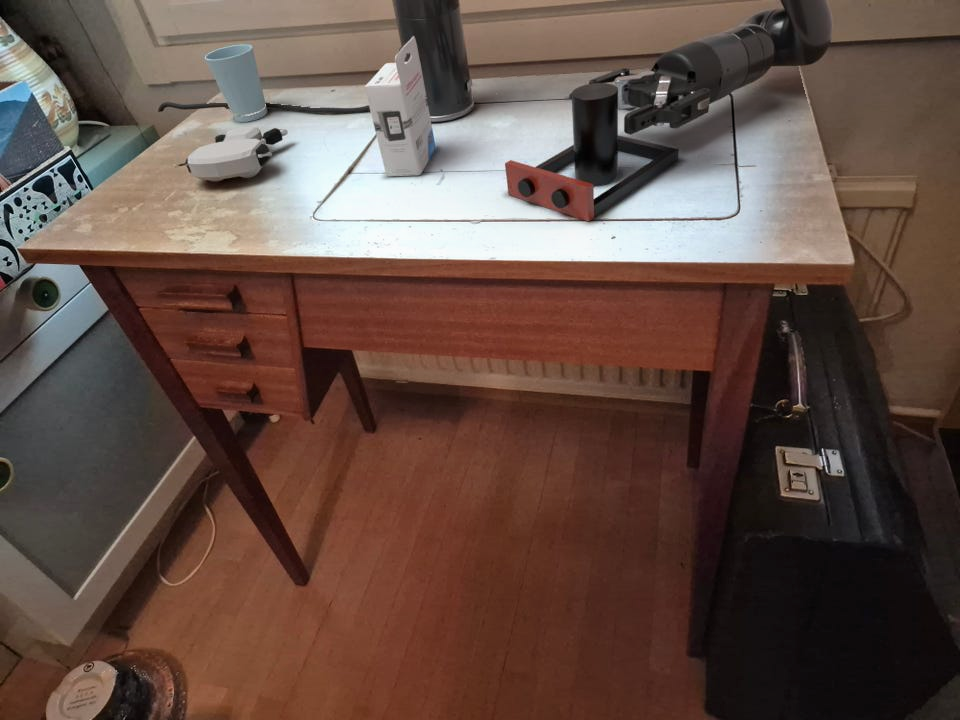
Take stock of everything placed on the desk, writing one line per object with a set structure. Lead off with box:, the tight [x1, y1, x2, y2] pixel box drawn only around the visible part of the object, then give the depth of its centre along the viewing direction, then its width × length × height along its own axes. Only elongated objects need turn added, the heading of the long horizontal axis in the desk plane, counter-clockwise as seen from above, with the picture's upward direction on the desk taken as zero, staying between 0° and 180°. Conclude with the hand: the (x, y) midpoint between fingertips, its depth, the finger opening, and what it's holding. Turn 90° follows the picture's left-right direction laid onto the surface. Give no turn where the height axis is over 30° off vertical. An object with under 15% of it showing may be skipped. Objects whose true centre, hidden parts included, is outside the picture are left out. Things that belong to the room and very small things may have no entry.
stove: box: [504, 134, 680, 223], centre depth 77 cm, size 12×18×4 cm
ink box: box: [364, 36, 437, 177], centre depth 84 cm, size 9×5×15 cm, turn 168°
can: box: [571, 83, 619, 187], centre depth 75 cm, size 5×5×10 cm
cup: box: [204, 43, 268, 123], centre depth 109 cm, size 8×8×10 cm
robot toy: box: [173, 125, 289, 182], centre depth 94 cm, size 12×4×15 cm
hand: (599, 116), depth 74 cm, fingers open, 8 cm apart
